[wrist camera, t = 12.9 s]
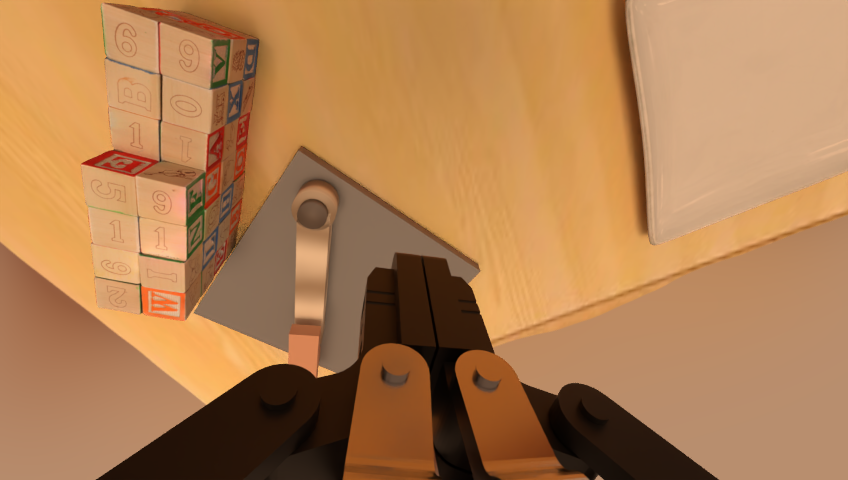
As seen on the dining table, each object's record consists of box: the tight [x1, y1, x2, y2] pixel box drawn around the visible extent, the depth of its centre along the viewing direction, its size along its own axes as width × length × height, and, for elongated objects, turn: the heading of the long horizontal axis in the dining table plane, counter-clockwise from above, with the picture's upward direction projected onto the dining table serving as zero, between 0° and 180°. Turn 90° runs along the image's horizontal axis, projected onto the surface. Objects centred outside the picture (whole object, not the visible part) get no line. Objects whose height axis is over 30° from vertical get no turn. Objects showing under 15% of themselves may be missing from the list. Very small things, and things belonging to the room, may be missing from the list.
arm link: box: [291, 180, 339, 344], centre depth 37 cm, size 19×4×4 cm, turn 169°
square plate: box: [625, 0, 848, 245], centre depth 35 cm, size 27×27×4 cm
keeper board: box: [194, 146, 480, 378], centre depth 40 cm, size 24×24×8 cm
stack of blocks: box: [81, 3, 259, 321], centre depth 29 cm, size 21×6×12 cm, turn 161°
